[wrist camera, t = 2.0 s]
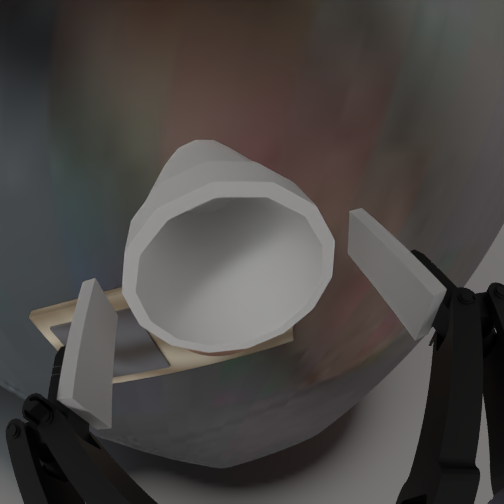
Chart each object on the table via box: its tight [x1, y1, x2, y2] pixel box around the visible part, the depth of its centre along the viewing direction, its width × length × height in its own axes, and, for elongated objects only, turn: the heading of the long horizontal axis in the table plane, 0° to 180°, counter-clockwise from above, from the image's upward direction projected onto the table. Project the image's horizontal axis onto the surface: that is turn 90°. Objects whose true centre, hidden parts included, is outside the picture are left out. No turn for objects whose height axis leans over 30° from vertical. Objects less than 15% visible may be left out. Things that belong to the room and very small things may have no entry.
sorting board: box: [29, 287, 293, 383], centre depth 31 cm, size 15×29×1 cm, turn 99°
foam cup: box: [122, 140, 335, 353], centre depth 17 cm, size 10×9×13 cm
